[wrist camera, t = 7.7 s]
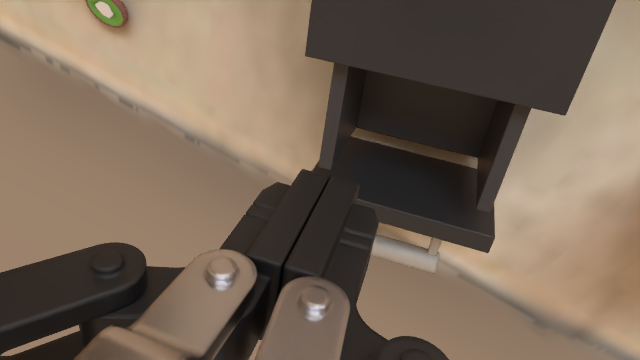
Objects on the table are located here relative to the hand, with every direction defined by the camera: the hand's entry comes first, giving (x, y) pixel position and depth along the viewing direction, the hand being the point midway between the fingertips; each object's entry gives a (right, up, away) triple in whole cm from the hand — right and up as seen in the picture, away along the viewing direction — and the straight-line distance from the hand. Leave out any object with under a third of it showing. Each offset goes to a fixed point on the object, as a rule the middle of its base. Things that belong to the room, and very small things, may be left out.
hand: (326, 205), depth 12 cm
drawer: (+7, +6, +20) cm, 22 cm away
